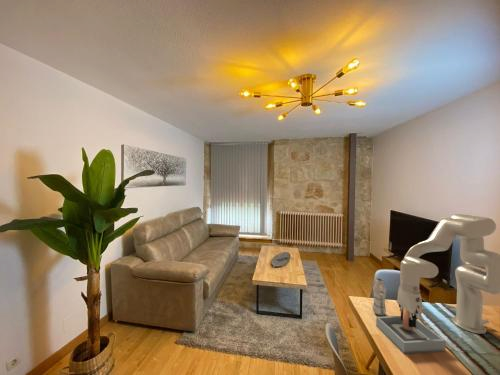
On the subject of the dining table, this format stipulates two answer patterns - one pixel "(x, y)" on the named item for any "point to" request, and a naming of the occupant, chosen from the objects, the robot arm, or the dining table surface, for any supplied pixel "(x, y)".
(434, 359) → the dining table surface
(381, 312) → the plastic bottle
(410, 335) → the grey socket tray
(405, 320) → the peg
